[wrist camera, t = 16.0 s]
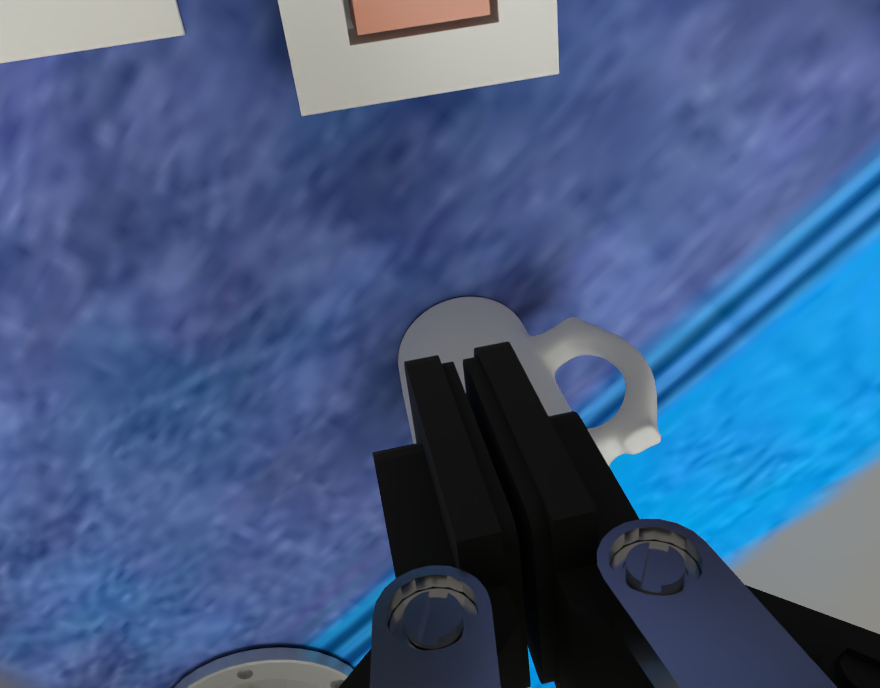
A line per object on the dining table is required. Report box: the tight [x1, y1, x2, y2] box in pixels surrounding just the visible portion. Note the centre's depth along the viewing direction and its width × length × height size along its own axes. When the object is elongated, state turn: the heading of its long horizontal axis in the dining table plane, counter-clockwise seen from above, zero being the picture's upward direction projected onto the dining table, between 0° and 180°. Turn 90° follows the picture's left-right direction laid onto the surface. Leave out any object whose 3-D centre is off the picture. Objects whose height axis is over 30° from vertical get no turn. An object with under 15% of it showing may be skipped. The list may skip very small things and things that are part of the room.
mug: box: [398, 297, 661, 466], centre depth 33 cm, size 10×7×12 cm, turn 123°
